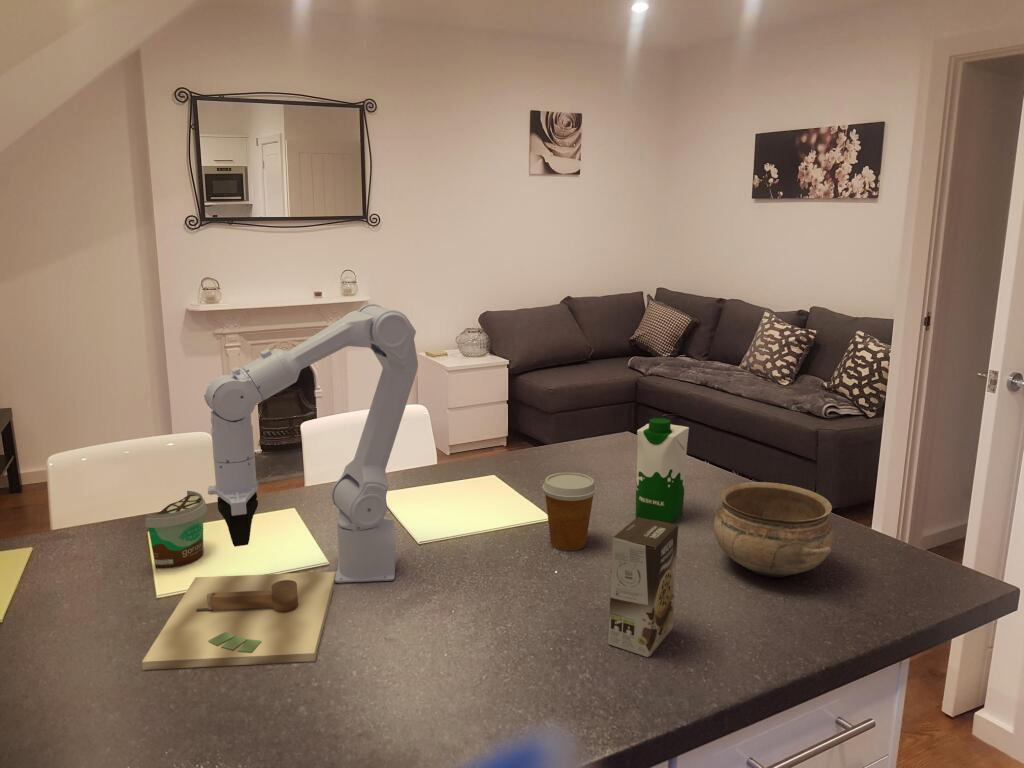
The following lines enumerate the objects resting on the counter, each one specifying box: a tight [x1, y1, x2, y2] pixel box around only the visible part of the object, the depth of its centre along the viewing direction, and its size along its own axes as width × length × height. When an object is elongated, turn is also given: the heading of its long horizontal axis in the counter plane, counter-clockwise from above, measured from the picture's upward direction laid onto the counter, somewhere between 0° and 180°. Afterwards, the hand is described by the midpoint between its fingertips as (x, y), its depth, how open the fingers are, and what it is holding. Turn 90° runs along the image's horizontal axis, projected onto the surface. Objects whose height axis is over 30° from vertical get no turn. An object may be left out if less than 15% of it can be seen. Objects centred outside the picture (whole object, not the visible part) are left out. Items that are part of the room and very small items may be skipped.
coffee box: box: [607, 517, 679, 658], centre depth 110 cm, size 9×6×16 cm
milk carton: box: [635, 417, 690, 524], centre depth 152 cm, size 9×9×20 cm
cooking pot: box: [713, 481, 835, 578], centre depth 131 cm, size 25×19×12 cm
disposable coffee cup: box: [541, 472, 597, 552], centre depth 141 cm, size 10×10×12 cm
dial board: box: [141, 571, 337, 671], centre depth 115 cm, size 22×24×1 cm
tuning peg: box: [207, 580, 298, 612], centre depth 116 cm, size 13×4×3 cm, turn 96°
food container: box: [144, 490, 208, 570], centre depth 134 cm, size 12×6×10 cm, turn 168°
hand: (240, 543), depth 119 cm, fingers closed
